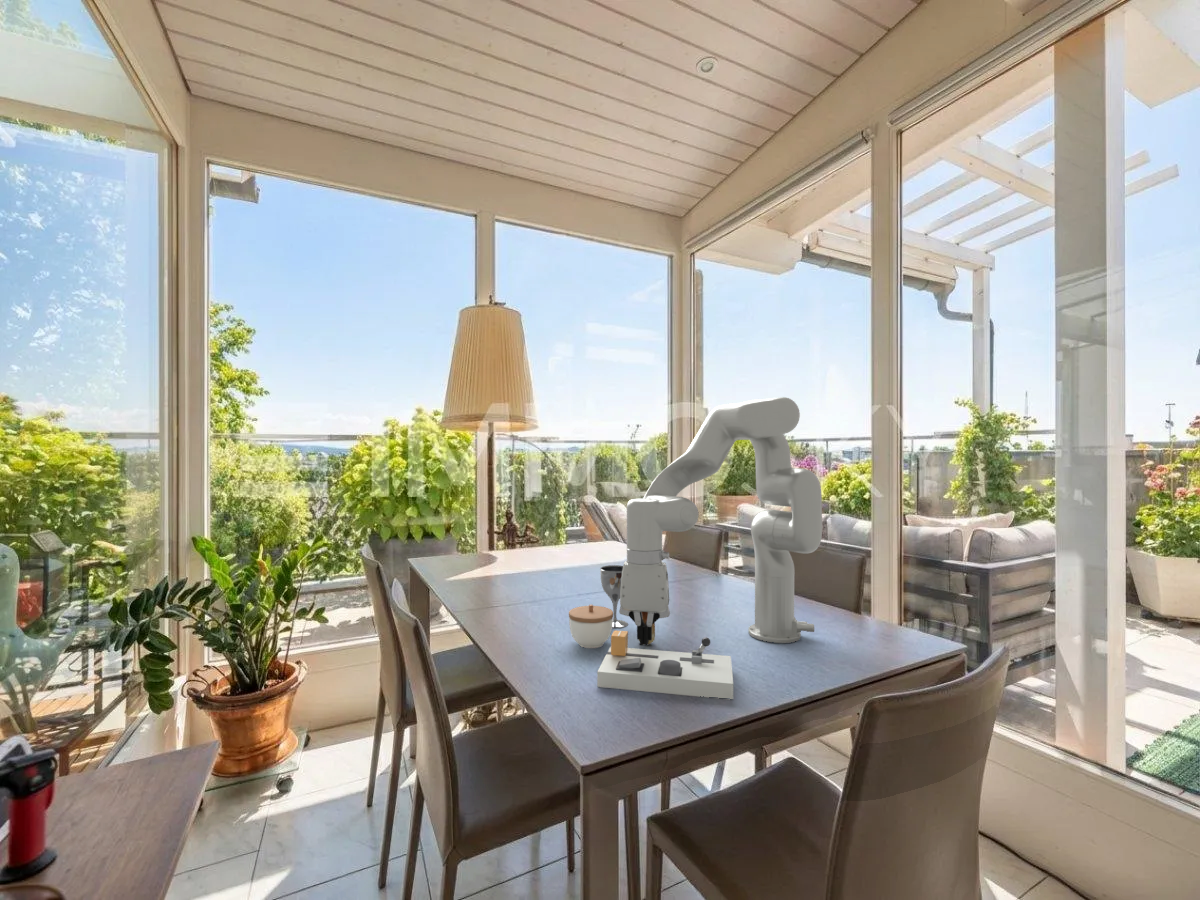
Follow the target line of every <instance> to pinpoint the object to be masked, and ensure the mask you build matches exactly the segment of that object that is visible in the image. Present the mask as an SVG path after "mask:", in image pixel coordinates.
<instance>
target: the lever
mask: <svg viewBox="0 0 1200 900" xmlns="http://www.w3.org/2000/svg"><path fill="white" fill-rule="evenodd" d="M710 645H711V640H710V638H709V637H707V636H705V637H703V638H702V639H701V644H700V646H699V648H698V649H697V652H696V654H695V656H701V654H703V653H704V651H705V650H706V648H707V647H709V646H710Z"/></svg>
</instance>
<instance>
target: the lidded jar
mask: <svg viewBox="0 0 1200 900" xmlns="http://www.w3.org/2000/svg"><path fill="white" fill-rule="evenodd" d="M613 617H614V612H613V610H612V609H610V608H609V607H605V606H601V605H600V606H599V605H593V604H589V605H583V606H577V607H573V608H572V609H570V610H569V611H568V621H569V631H570V634H571V637H572V638H573V640H574V641H575V642H576V643H577V644H579V645H580V646H581V648H583V647H584V649H597V648H601V647H603V646H604V644H605V643H606V642H607V641H608V639H609V638H610V637H611V635H612V631H613V630H612V629H613V628H612V625H613ZM579 645H578V646H579ZM580 646H579V647H580Z"/></svg>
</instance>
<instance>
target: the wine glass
mask: <svg viewBox="0 0 1200 900" xmlns="http://www.w3.org/2000/svg"><path fill="white" fill-rule="evenodd" d="M599 570H600V573H599V574H600V581H601V582H600V583H601V588H602V590H603V592H604V593H605V594H606V595H607V596H608V598H609V599H610V601H611V603H612V609H613V610H612V611H613V625H612V629H624V628H626V627H628V626H629V623H628V622H627V621H625V620H622V619H618V618H617V610H618V604H619V602H620V590H621V577H622V570H623V565H619V564H618V565H616V564H611V565H603V566H601V567H600V569H599Z"/></svg>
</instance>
